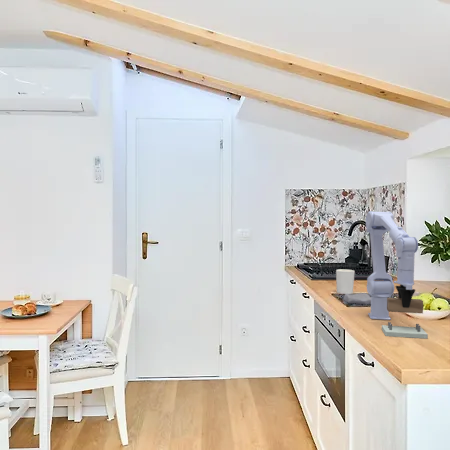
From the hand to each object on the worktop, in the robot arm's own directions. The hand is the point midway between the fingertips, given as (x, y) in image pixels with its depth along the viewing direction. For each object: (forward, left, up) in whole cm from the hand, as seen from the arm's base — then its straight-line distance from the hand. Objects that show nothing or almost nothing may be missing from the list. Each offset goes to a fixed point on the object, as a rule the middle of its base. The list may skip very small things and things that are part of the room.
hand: (404, 306), depth 178 cm
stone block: (-52, -11, -10) cm, 54 cm away
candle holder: (-78, -16, -9) cm, 80 cm away
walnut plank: (0, 0, -2) cm, 2 cm away
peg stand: (+5, -1, -9) cm, 10 cm away
